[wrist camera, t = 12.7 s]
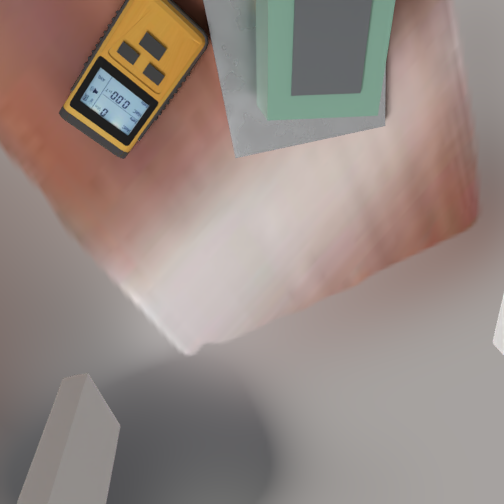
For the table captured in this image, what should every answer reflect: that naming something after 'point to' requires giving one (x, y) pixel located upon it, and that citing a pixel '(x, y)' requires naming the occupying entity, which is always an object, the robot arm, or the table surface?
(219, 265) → the table surface
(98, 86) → the electronic device
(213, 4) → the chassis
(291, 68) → the block
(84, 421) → the robot arm
